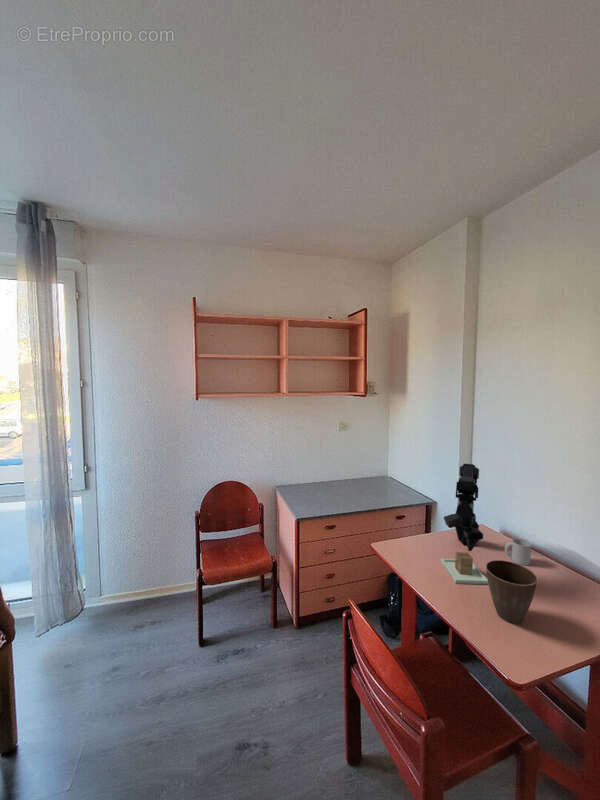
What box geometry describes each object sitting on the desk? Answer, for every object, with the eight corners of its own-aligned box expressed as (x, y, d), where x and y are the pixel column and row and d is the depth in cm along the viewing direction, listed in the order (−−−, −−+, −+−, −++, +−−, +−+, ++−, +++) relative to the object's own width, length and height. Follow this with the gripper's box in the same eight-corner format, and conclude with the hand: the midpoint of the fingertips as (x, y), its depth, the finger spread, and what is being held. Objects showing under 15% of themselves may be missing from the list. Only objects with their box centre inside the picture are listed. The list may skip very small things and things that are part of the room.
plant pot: (524, 639, 103) (527, 590, 102) (476, 612, 115) (478, 568, 114) (542, 619, 112) (544, 574, 111) (495, 596, 124) (497, 555, 123)
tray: (440, 561, 148) (440, 558, 148) (469, 562, 147) (470, 559, 147) (455, 583, 132) (456, 579, 132) (488, 584, 131) (488, 580, 131)
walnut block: (455, 567, 142) (455, 552, 142) (466, 567, 142) (467, 552, 142) (460, 574, 137) (460, 558, 137) (472, 574, 137) (472, 558, 137)
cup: (532, 567, 144) (533, 547, 144) (506, 562, 148) (506, 543, 147) (527, 559, 151) (528, 540, 150) (502, 554, 154) (503, 536, 154)
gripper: (438, 501, 148) (437, 534, 149) (455, 518, 129) (454, 556, 130) (463, 501, 147) (462, 535, 148) (484, 518, 129) (483, 557, 130)
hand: (464, 545), depth 139 cm, fingers open, 9 cm apart
